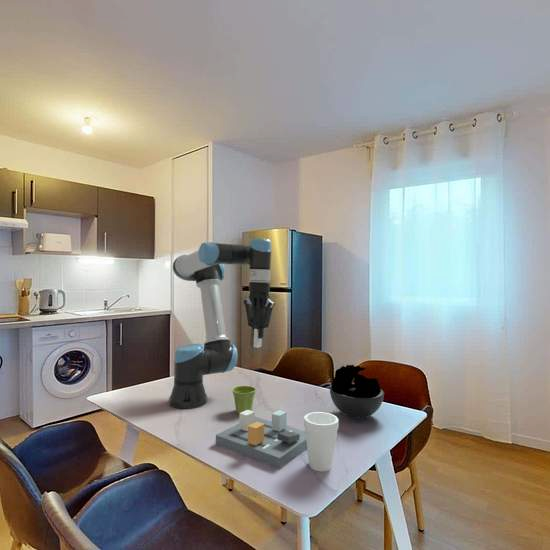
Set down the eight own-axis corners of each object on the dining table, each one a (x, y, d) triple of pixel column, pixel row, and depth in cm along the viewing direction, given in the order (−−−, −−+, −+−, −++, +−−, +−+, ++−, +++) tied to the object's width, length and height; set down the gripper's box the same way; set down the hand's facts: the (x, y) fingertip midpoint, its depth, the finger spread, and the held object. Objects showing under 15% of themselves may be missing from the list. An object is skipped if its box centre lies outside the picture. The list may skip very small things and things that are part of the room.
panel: (215, 444, 111) (215, 432, 111) (253, 424, 126) (254, 414, 126) (279, 469, 97) (279, 455, 97) (313, 443, 112) (313, 431, 112)
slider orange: (247, 442, 105) (248, 425, 105) (256, 438, 108) (256, 421, 108) (255, 445, 103) (256, 428, 103) (264, 440, 106) (264, 423, 106)
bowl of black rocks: (348, 403, 149) (349, 358, 150) (393, 417, 135) (393, 367, 136) (318, 416, 135) (319, 366, 136) (365, 432, 121) (366, 376, 121)
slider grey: (271, 429, 114) (271, 413, 114) (278, 425, 118) (278, 410, 118) (279, 431, 113) (279, 415, 113) (286, 427, 116) (286, 412, 116)
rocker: (277, 439, 105) (277, 433, 105) (287, 436, 109) (288, 430, 110) (288, 442, 102) (289, 437, 103) (299, 440, 107) (299, 434, 107)
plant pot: (236, 417, 132) (237, 394, 132) (228, 409, 141) (228, 387, 141) (259, 413, 137) (260, 391, 137) (250, 406, 145) (250, 384, 145)
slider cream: (239, 428, 114) (239, 413, 114) (247, 424, 118) (247, 409, 118) (246, 431, 113) (246, 415, 113) (254, 427, 116) (254, 411, 116)
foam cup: (301, 457, 103) (302, 412, 104) (332, 456, 104) (333, 411, 104) (306, 475, 94) (307, 425, 94) (341, 474, 95) (342, 424, 95)
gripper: (239, 280, 129) (237, 345, 129) (267, 282, 122) (265, 351, 122) (252, 280, 135) (250, 342, 136) (280, 282, 128) (278, 348, 128)
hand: (257, 346), depth 129 cm, fingers closed
